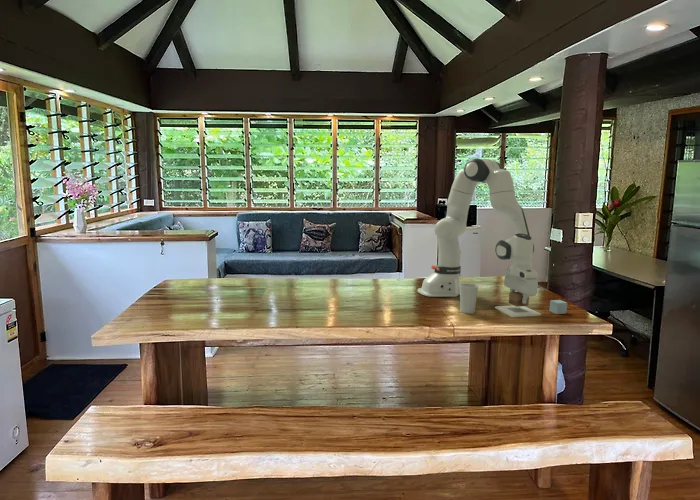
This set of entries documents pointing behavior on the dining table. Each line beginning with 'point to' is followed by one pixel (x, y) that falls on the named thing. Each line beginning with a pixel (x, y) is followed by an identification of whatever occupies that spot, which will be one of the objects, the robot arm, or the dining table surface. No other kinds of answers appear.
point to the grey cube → (558, 306)
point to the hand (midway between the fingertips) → (518, 300)
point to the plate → (517, 311)
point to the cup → (468, 297)
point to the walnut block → (517, 299)
